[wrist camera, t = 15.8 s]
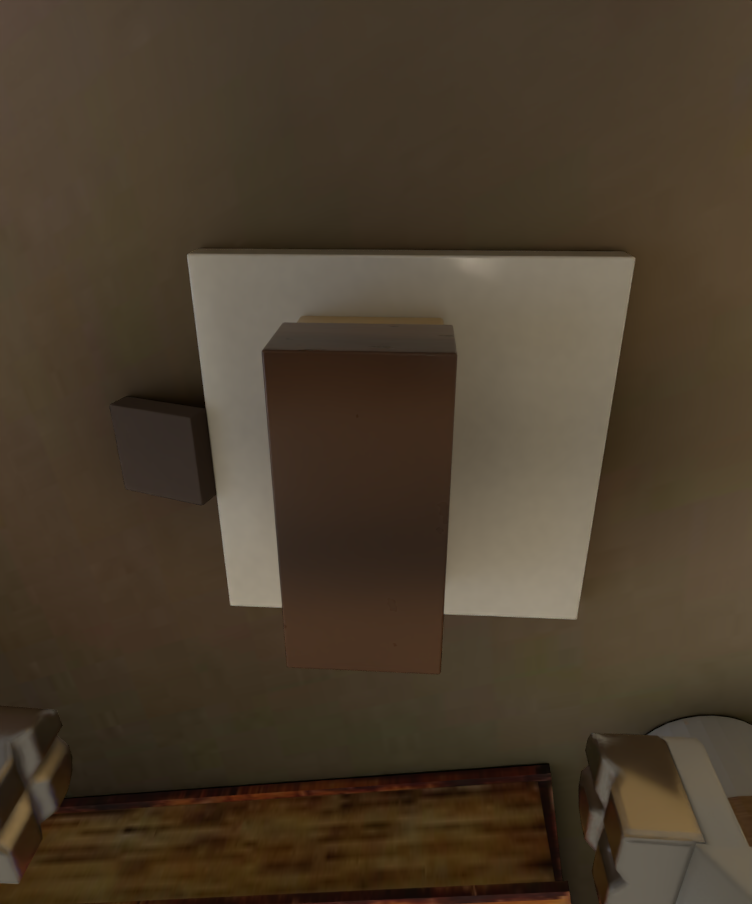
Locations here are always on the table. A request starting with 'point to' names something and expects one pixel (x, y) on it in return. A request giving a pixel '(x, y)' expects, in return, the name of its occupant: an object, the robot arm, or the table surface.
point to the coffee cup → (723, 758)
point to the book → (308, 844)
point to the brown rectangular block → (362, 487)
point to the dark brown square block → (164, 449)
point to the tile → (476, 402)
